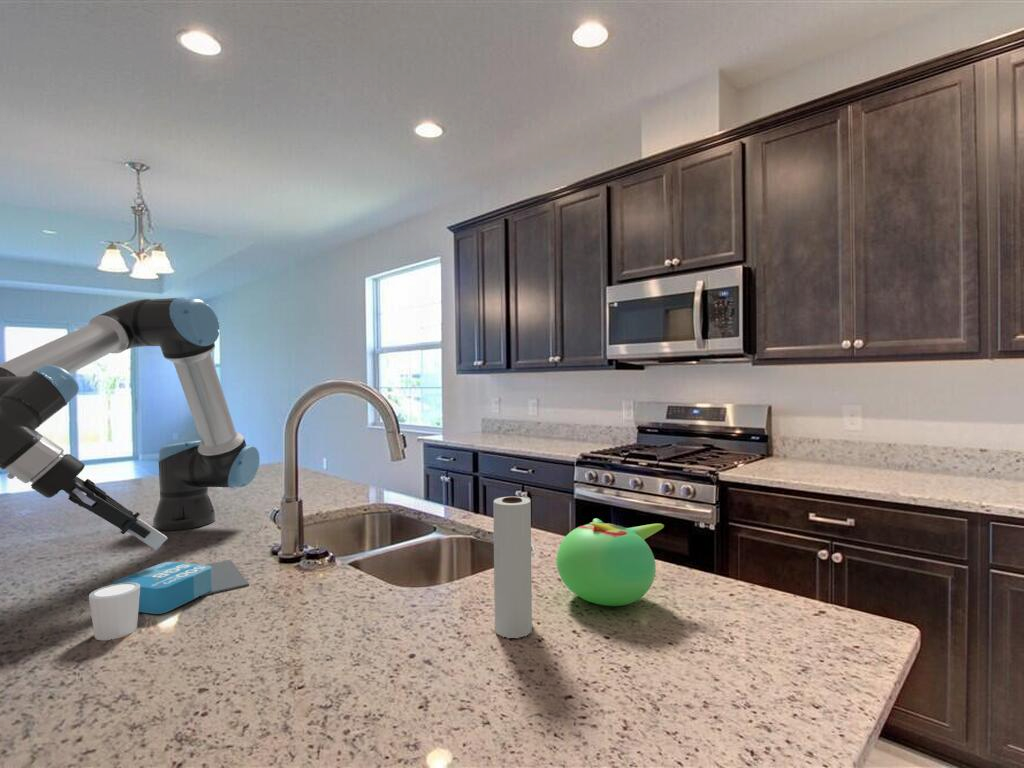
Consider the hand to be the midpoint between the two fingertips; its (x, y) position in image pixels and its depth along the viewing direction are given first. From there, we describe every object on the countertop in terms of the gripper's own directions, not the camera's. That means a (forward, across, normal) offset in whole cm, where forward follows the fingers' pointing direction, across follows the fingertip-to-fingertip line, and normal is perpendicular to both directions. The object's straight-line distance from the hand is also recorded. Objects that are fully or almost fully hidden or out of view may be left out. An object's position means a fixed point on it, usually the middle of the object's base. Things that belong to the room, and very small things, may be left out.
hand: (161, 543), depth 107 cm
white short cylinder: (+1, +16, -12) cm, 20 cm away
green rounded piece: (+52, +58, +38) cm, 87 cm away
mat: (+10, 0, -2) cm, 11 cm away
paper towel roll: (+37, +57, +24) cm, 73 cm away
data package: (+2, +2, -7) cm, 8 cm away
